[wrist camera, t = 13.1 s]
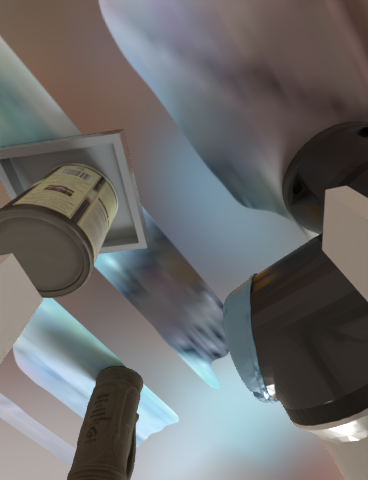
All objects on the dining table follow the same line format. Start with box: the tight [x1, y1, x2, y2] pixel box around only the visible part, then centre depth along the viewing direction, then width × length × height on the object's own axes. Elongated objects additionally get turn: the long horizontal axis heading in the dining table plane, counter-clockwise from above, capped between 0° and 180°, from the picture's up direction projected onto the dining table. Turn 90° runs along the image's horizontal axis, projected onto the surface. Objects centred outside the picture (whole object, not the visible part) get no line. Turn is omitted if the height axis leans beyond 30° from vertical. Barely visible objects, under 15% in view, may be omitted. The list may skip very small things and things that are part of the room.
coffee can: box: [0, 163, 118, 298], centre depth 30 cm, size 10×10×14 cm
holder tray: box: [0, 129, 149, 254], centre depth 36 cm, size 16×16×3 cm
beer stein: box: [67, 367, 143, 480], centre depth 53 cm, size 15×11×20 cm
